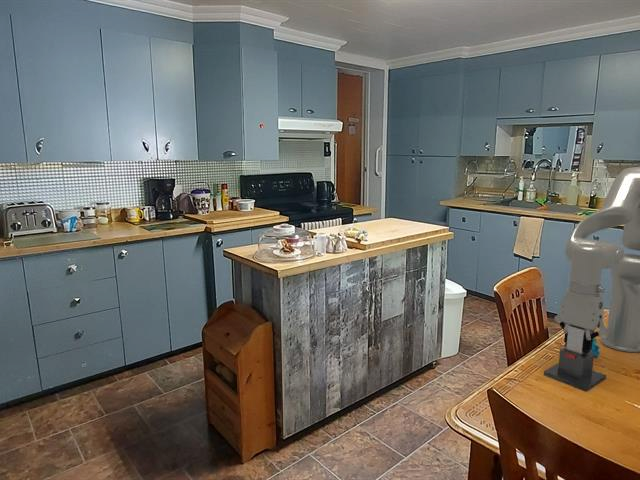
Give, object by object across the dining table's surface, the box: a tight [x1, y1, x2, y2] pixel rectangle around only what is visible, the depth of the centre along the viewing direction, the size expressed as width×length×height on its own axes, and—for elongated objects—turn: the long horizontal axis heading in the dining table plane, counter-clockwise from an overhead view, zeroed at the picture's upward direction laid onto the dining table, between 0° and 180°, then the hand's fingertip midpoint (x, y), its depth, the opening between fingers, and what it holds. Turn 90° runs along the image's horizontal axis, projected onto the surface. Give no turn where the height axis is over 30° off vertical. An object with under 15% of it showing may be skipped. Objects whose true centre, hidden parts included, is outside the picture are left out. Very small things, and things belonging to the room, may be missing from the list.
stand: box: [543, 346, 607, 393], centre depth 129 cm, size 12×12×8 cm
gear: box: [590, 337, 601, 358], centre depth 146 cm, size 11×6×10 cm
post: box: [565, 325, 588, 356], centre depth 128 cm, size 4×4×14 cm
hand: (577, 347), depth 128 cm, fingers closed on post, 4 cm apart
